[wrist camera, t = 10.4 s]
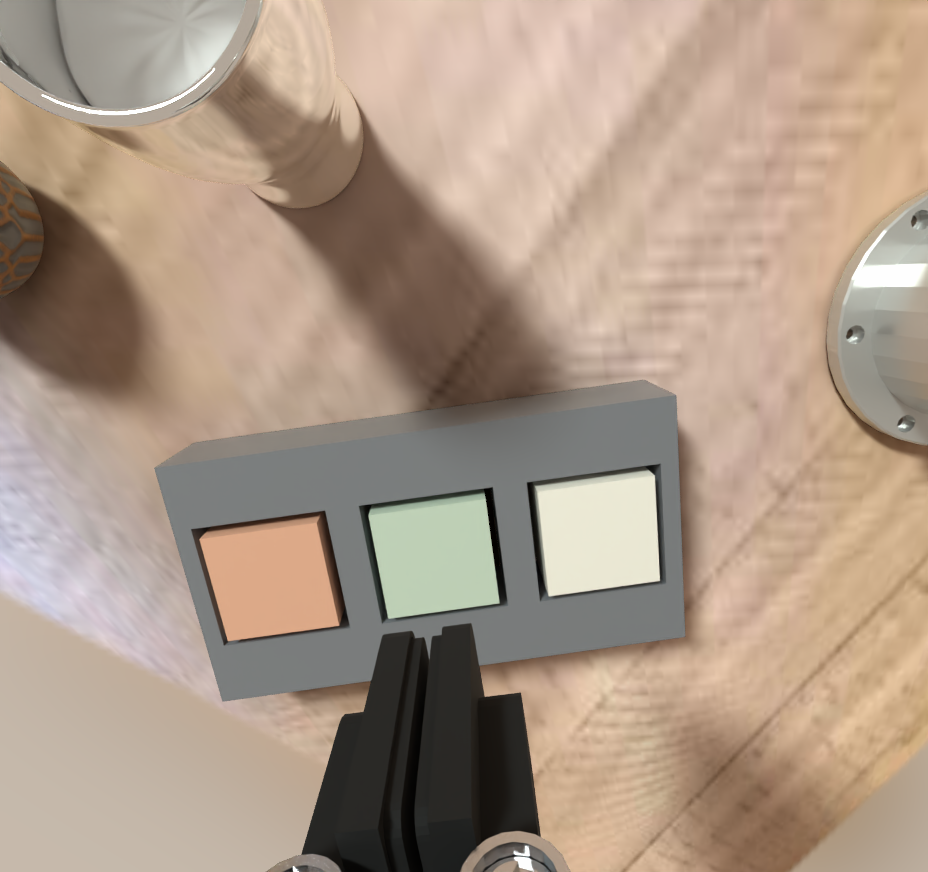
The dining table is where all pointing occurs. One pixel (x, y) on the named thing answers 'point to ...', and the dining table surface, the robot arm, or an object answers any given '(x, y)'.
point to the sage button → (434, 553)
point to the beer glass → (195, 87)
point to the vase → (17, 232)
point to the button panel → (419, 475)
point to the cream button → (595, 530)
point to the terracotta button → (274, 575)
